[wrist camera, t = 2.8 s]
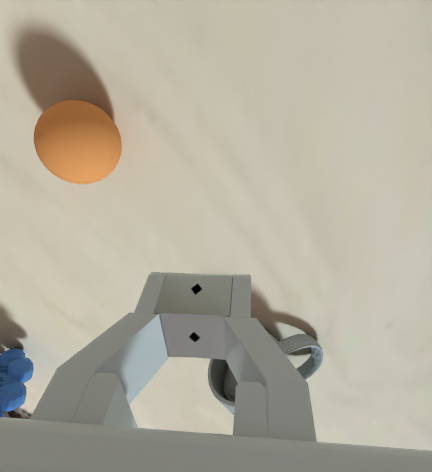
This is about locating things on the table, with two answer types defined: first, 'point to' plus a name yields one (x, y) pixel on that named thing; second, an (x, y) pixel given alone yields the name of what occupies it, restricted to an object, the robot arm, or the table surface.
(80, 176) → the ball
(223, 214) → the table surface
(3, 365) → the blue flower
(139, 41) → the table surface
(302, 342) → the ceramic mug
